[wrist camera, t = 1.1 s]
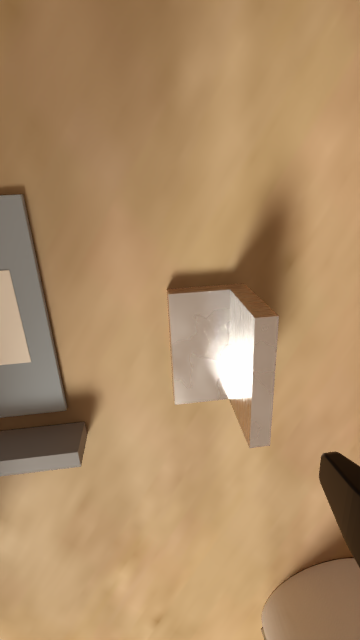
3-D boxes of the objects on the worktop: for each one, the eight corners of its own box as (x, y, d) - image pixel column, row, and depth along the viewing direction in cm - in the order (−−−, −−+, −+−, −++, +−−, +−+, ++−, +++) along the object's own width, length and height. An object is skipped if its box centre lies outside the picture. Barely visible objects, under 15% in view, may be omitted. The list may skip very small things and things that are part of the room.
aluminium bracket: (240, 387, 25) (270, 445, 19) (173, 394, 24) (183, 456, 19) (243, 282, 22) (279, 315, 16) (166, 288, 21) (176, 324, 16)
